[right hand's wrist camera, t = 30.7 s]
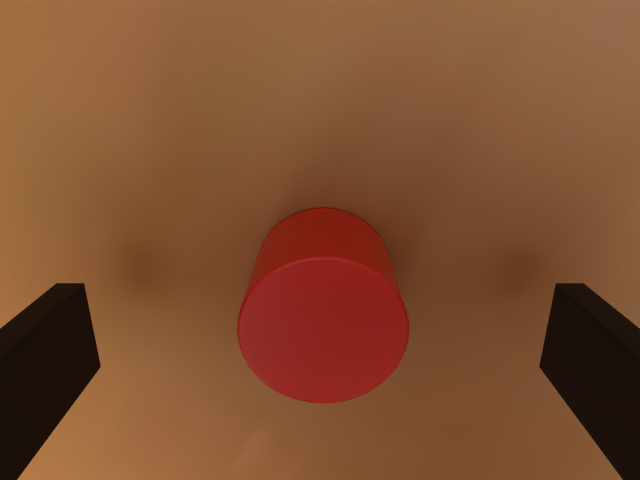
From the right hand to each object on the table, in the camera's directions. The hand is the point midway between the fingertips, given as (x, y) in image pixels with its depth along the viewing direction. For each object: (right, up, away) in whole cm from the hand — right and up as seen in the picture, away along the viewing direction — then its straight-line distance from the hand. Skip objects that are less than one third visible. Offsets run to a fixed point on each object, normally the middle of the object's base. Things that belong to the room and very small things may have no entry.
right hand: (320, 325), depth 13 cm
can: (0, +1, +3) cm, 3 cm away
